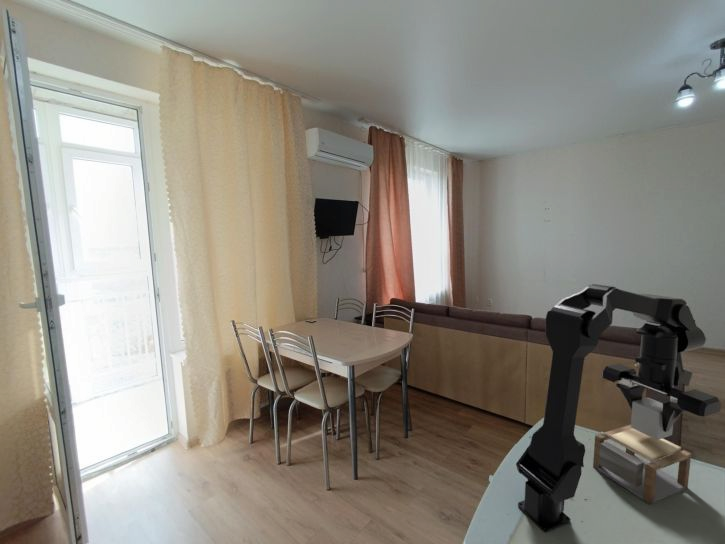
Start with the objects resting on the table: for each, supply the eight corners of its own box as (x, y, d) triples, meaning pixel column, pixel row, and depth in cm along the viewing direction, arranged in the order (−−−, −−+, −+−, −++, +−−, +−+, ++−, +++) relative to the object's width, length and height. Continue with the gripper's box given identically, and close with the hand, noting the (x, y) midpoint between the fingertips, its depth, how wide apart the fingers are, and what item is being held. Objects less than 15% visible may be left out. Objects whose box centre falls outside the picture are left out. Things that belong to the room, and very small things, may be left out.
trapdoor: (637, 488, 65) (639, 462, 65) (596, 462, 73) (598, 438, 72) (678, 472, 70) (681, 447, 69) (636, 449, 77) (638, 426, 77)
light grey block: (656, 440, 69) (659, 412, 68) (630, 427, 73) (632, 401, 73) (672, 435, 70) (674, 408, 70) (645, 422, 75) (647, 397, 74)
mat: (649, 504, 65) (649, 501, 65) (592, 466, 75) (593, 464, 75) (687, 487, 69) (687, 485, 68) (628, 454, 79) (629, 452, 79)
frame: (649, 504, 65) (653, 465, 64) (592, 466, 75) (595, 433, 74) (687, 487, 69) (691, 451, 68) (628, 454, 79) (631, 422, 78)
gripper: (741, 365, 64) (732, 441, 65) (634, 337, 81) (629, 398, 83) (707, 374, 60) (698, 454, 62) (602, 343, 77) (598, 406, 79)
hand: (651, 424), depth 72 cm, fingers closed on light grey block, 5 cm apart
